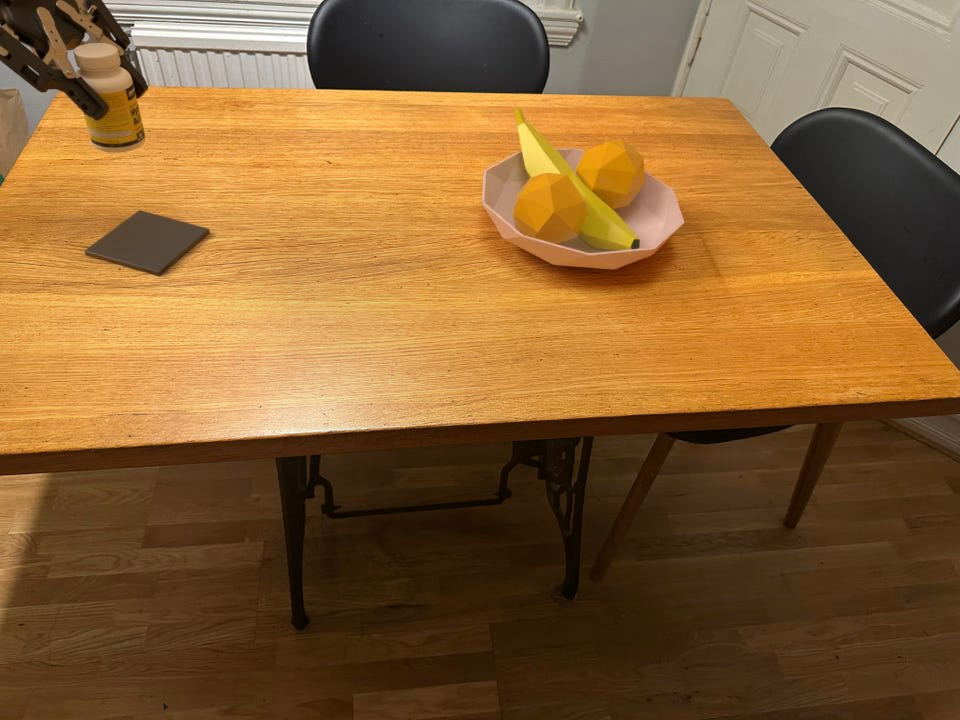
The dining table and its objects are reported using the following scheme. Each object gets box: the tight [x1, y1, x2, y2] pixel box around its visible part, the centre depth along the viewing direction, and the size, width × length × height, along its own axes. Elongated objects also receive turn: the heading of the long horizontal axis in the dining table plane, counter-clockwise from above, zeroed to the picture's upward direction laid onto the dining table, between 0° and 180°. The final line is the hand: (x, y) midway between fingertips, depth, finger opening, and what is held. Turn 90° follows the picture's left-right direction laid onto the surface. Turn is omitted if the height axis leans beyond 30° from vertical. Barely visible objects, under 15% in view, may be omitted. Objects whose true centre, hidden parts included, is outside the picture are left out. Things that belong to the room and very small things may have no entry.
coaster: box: [83, 209, 211, 277], centre depth 84 cm, size 10×10×1 cm
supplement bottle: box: [72, 43, 147, 154], centre depth 72 cm, size 5×5×10 cm
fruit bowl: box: [481, 108, 686, 270], centre depth 91 cm, size 28×27×11 cm
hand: (123, 103), depth 72 cm, fingers closed on supplement bottle, 5 cm apart
